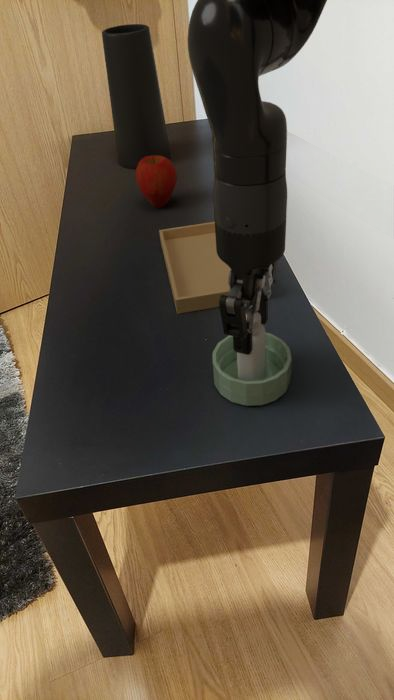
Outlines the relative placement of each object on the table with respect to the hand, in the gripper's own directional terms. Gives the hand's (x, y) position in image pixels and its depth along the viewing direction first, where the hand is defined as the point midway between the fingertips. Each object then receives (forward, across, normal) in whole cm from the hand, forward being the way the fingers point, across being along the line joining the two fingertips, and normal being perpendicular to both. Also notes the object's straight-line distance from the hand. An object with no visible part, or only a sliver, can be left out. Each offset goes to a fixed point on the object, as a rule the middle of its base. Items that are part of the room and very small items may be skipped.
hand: (251, 335), depth 64 cm
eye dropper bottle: (+8, 0, 0) cm, 8 cm away
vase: (+8, +67, +52) cm, 85 cm away
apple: (+8, +44, +36) cm, 57 cm away
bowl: (+8, 0, 0) cm, 8 cm away
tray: (+8, +24, +16) cm, 30 cm away
